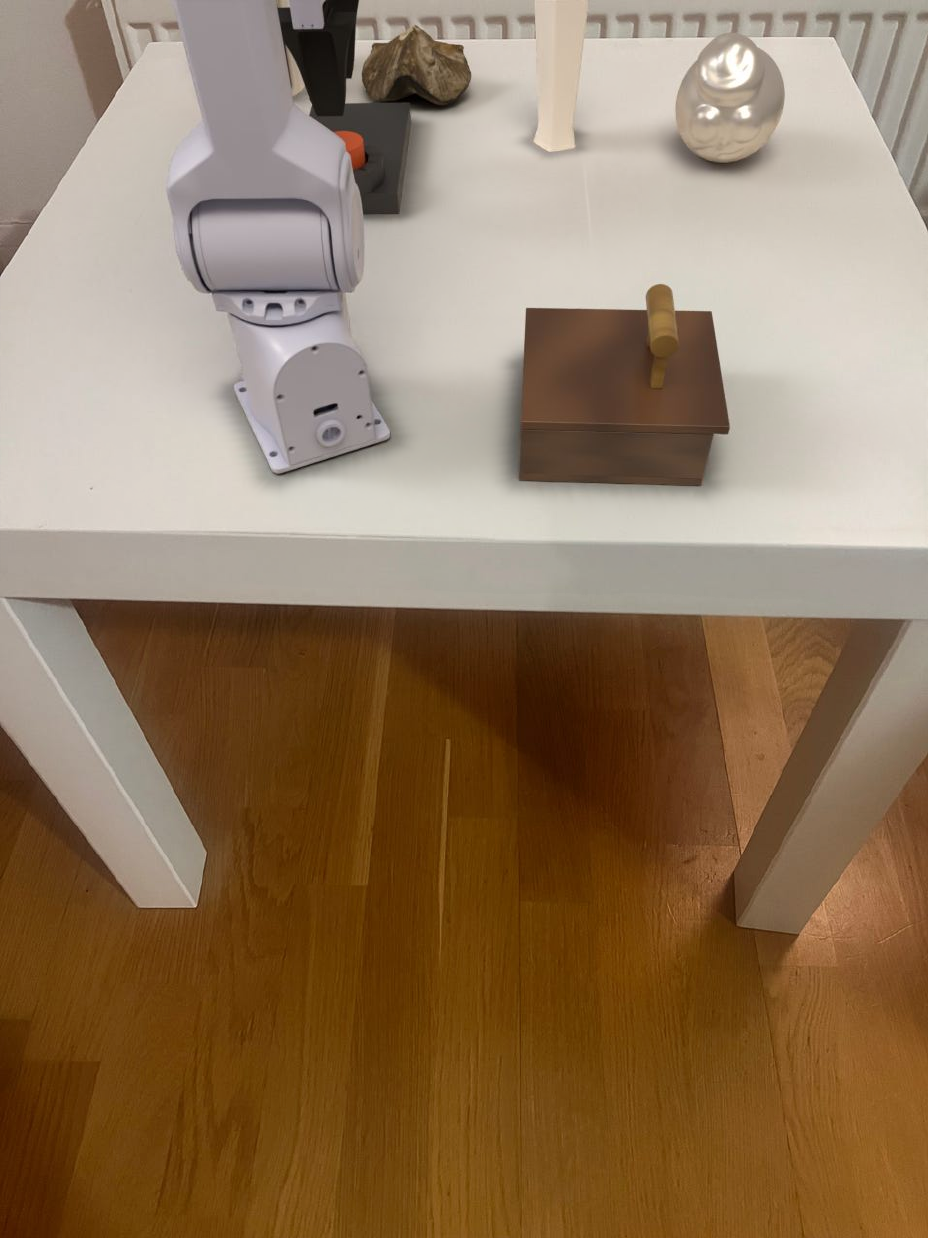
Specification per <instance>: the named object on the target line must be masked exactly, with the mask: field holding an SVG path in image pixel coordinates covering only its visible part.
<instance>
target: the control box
mask: <svg viewBox="0 0 928 1238" xmlns="http://www.w3.org/2000/svg"><path fill="white" fill-rule="evenodd" d="M308 115H309V116H310V117H312V118H313V119H315V120H316V121H318V122H319V123H321V124H322V125H324V126H325V127H326V128H328V129H329V130H331V131H332V132H337V131H350V132H355V133H357V134H359V135H360V136H361V137H362V138H363V142H364V152H365V164H364V165H363V166H362V167H360V168H358V169H354V170H353V174H354V179H355V183H356V184H357V186H358V188H359V192H360V196H361V202H362V210H363V216H365V215H366V216H367V215H371V216H372V215H375V216H377V215H400V213H401V212H400V211H401V205H402V204H401V203H402V198H403V197H402V196H403V188H404V183H405V182H404V180H405V174H406V173H405V172H406V166H407V165H406V164H407V158H408V152H409V151H408V150H409V142H410V135H411V127H412V114H411V103H410V102H352V103H350V102H349V103H348V102H345V108H344V114H343V116H316V113H315V111H314V109H313V107H312V106H311V108H310V111H309V114H308Z"/></svg>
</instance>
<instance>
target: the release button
mask: <svg viewBox="0 0 928 1238" xmlns="http://www.w3.org/2000/svg"><path fill="white" fill-rule="evenodd" d="M333 133H335V134H336V135H337V136H339V137H340V138H341V139H342V140H343V141H344V142H345V146H346V151H347V152H348V153H349V154H350V156H351V163H352V169H353V170H354V169H358V168H360V167H362V166H363V165H364V164H365V152H364V142H363V138H362V137H361V136H360V135H359V134H357V133H355V132H350V131H337V132H333Z"/></svg>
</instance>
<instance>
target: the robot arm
mask: <svg viewBox="0 0 928 1238" xmlns="http://www.w3.org/2000/svg"><path fill="white" fill-rule="evenodd" d="M171 2H172V3H171V4H172V7H173V10H174V15H175V18H176V22H177V26H178V29H179V34H180V37H181V41H182V45H183V49H184V53H185V56H186V61H187V64H188V69H189V72H190V76H191V80H192V83H193V88H194V91H195V96H196V99H197V102H198V103H197V104H198V107H199V110H200V111H199V112H200V115H201V119H202V120H201V121H200V122H198V124H197V125H196V126H195V127H194V128H193V129H191V130H190V131H189V133H188V134H186V135H185V137H184V138H182V140H181V141H180V142H179V143H178V144H177V146H176V147H175V149H174V151H173V153H172V157H171V160H170V163H169V167H168V173H167V178H166V184H165V192H166V196H167V200H168V204H169V207H170V212H171V218H172V229H173V230H172V232H173V241H174V247H175V251H176V255H177V260H178V262H179V266H180V268H181V271H182V272H183V276H184V277H185V278H186V279H187V281H189V283H190V284H191V285H192V286H193V288H194V290H196V291H197V292H198V293H200V294H211V297H212V301H213V304H214V309H215V312H224V313H226V314H227V318H228V323H229V326H230V330H231V334H232V339H233V342H234V346H235V350H236V354H237V357H238V362H239V365H240V368H241V372H242V376H243V380H239V381H237V382H235V383H234V385H233V390H234V393H235V395H236V397H237V399H238V402H239V404H240V407H241V408H242V411H243V412H244V415H245V417H246V419H247V422H248V424H249V425H250V428H251V430H252V432H253V434H254V436H255V438H256V440H257V442H258V444H259V446H260V449H261V451H262V453H263V455H264V457H265V460H266V461H267V463H268V467H269V468H270V470H271V472H272V473H274V474H283V473H287V472H290V471H292V470H296V469H299V468H302V467H306V466H309V465H311V464H315V463H318V462H321V461H324V460H327V459H330V458H333V457H337V456H340V455H343V454H346V453H347V454H348V453H350V452H352V451H355V450H360V449H361V448H362V449H363V448H365V447H369V446H370V445H374V444H378V443H382V442H385V441H387V440H389V439H390V437H391V429H390V428H389V426H388V425H387V423H386V421H385V420H384V418H383V416H382V415H381V413H380V411H379V410H378V408H377V407H376V405H375V403H374V401H373V400H372V395H371V387H370V379H369V372H368V371H369V370H368V367H367V363H366V360H365V358H364V355H363V354H362V352H361V351H360V349H359V347H358V345H357V344H356V341H355V340H354V338H353V336H352V330H351V323H350V322H351V321H350V315H349V307H348V302H347V295H346V293H348V294H349V293H353V292H355V291H356V288H357V287H358V285H359V284H360V283H361V282H362V281H363V278H364V272H365V257H366V254H365V253H366V252H365V251H366V250H365V248H366V246H365V245H366V243H365V240H366V239H365V222H364V221H365V220H364V215H363V210H362V202H361V196H360V192H359V188H358V186H357V184H356V183H355V179H354V174H353V169H352V163H351V156H350V154H349V153H348V152H347V151H346V146H345V142H344V141H343V140H342V139H341V138H340V137H339V136H337V135H336V134H335V133H333V132H332V131H331V130H329V129H328V128H326V127H325V126H324V125H322V124H321V123H319V122H318V121H316V120H315V119H313V118H312V117H310V116H309V114H308V113H306V112H305V111H303V109H301V108H300V107H298V105H296V103H295V102H294V96H292V90H291V84H290V79H289V73H288V67H287V61H286V56H285V50H284V44H283V42H284V43H285V45H286V46H287V48H288V49H289V51H290V53H291V54H292V56H293V58H294V60H295V62H296V64H297V66H298V69H299V71H300V73H301V76H302V79H303V82H304V84H305V90H306V93H307V96H308V99H309V101H310V104H311V107H313V109H314V111H315V113H316V116H343V114H344V108H345V103H346V100H347V80H348V79H349V80H352V78H353V73H354V67H355V55H356V32H357V18H358V10H359V3H360V0H289V4H290V7H284V8H277V4H276V0H171Z"/></svg>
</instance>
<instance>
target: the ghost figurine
mask: <svg viewBox="0 0 928 1238" xmlns="http://www.w3.org/2000/svg"><path fill="white" fill-rule="evenodd" d="M785 97H786V92H785V83H784V78H783V74H782V72H781V69H780V68H779V66H778V64H777V63H776V62H775V60H774V59H773V57H772V56H771V55H769V53H767V52H766V51H765V50H763V49H762V48H761V47H759V46H757V44H756V43H755V42H754V41H753V40H752V39H751V38H749V37H748V36H746V35H744V34H742V33H738V32H725V33H722V34H720V35H717V36H716V37H714V38H713V39H712V40H711V41H710V42H708V44H707V45H706V46H705V47H703V49H702V50H701V51H700V53H699V54H698V57H697V59H696V60H695V61H694V62H693V64H692V65H691V66H690V67H689V69H688V70H687V72H686V73H685V75H684V77H683V78H682V79H681V82H680V85H679V88H678V90H677V94H676V98H675V107H674V109H675V110H674V112H675V121H676V122H675V123H676V127H677V129H678V132H679V135H680V138H681V139H682V140H683V142H684V144H685V145H686V146H687V147H688V149H689V150H690V151H691V152H693V153H694V154H695V155H696V156H698V157H700V158H701V159H703V160H706V161H709V162H713V163H719V164H722V163H723V164H725V163H732V162H733V163H734V162H737V161H741V160H743V159H745V158H748V157H749V156H751V155H753V154H754V153H756V152H757V151H758V150H760V149H761V148H762V147H763V146H764V145H765V144H766V143H767V142H768V141H769V139H770V138H771V137H772V136H773V134H774V133H775V131H776V129H777V128H778V125H779V123H780V121H781V118H782V115H783V112H784V107H785V100H786V99H785Z"/></svg>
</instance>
